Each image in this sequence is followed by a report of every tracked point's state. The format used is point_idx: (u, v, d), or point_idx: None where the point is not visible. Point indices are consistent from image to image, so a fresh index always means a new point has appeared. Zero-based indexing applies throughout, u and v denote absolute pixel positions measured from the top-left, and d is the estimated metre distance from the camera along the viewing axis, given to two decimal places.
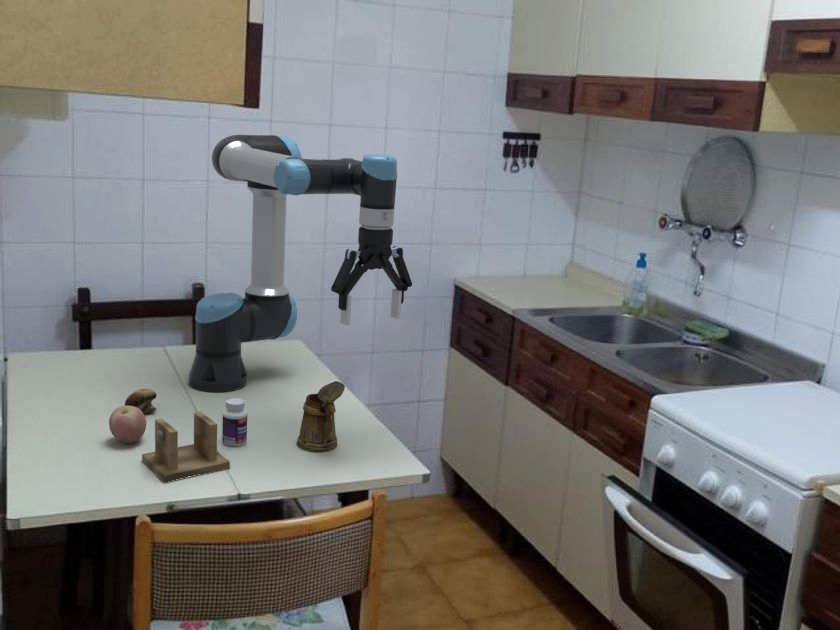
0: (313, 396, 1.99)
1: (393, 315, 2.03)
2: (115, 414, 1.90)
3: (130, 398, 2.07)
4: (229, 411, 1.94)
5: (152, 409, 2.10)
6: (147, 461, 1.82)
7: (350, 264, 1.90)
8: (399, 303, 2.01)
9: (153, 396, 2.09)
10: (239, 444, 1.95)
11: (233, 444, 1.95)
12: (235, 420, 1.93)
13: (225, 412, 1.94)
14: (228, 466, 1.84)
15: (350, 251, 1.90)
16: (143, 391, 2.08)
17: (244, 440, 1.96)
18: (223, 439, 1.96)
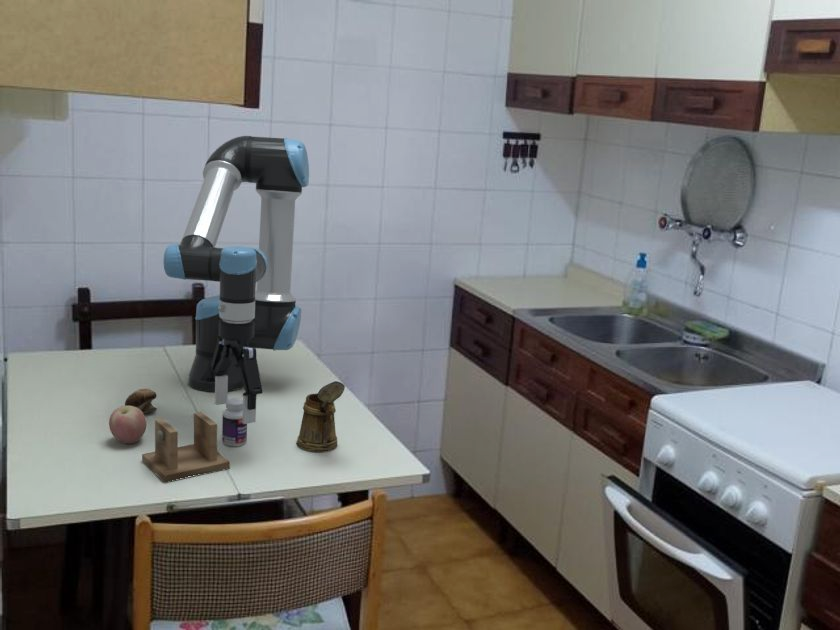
0: (313, 396, 1.99)
1: None
2: (115, 414, 1.90)
3: (130, 398, 2.07)
4: (229, 411, 1.94)
5: (152, 409, 2.10)
6: (147, 461, 1.82)
7: (216, 346, 1.97)
8: (243, 407, 1.89)
9: (153, 396, 2.09)
10: (239, 444, 1.95)
11: (233, 444, 1.95)
12: (235, 420, 1.93)
13: (225, 412, 1.94)
14: (228, 466, 1.84)
15: None
16: (143, 391, 2.08)
17: (244, 440, 1.96)
18: (223, 439, 1.96)
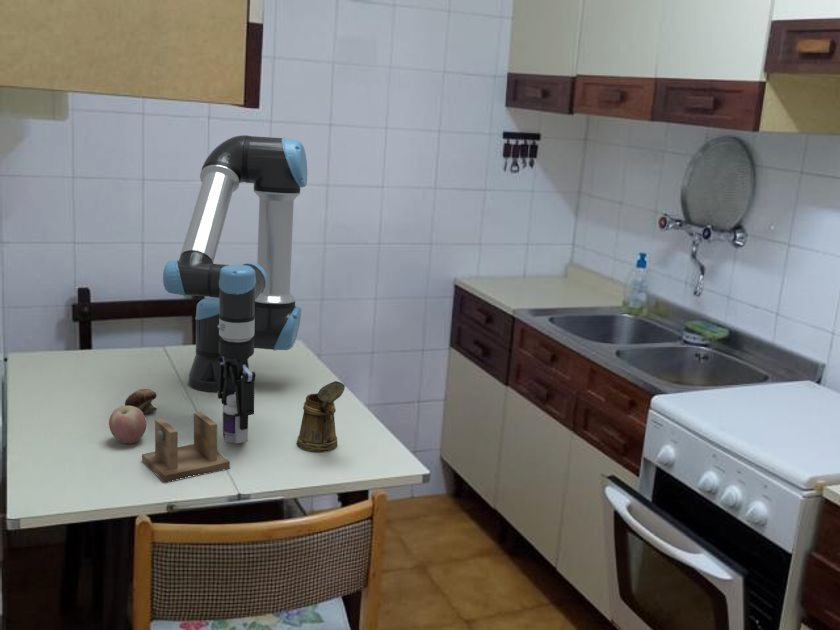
0: (313, 396, 1.99)
1: None
2: (115, 414, 1.90)
3: (130, 398, 2.07)
4: (230, 407, 1.94)
5: (152, 409, 2.10)
6: (147, 461, 1.82)
7: (219, 370, 1.98)
8: (235, 427, 1.94)
9: (153, 396, 2.09)
10: None
11: (233, 440, 1.95)
12: None
13: (226, 408, 1.94)
14: (228, 466, 1.84)
15: None
16: (143, 391, 2.08)
17: None
18: (224, 435, 1.96)
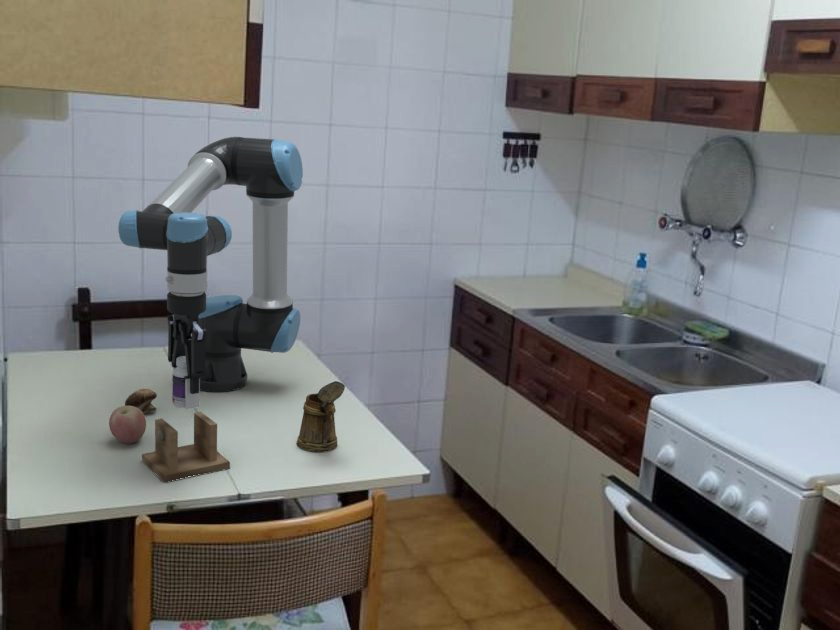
0: (313, 396, 1.99)
1: None
2: (115, 414, 1.90)
3: (130, 398, 2.07)
4: (179, 369, 1.78)
5: (152, 409, 2.10)
6: (147, 461, 1.82)
7: (169, 330, 1.81)
8: (185, 391, 1.77)
9: (153, 396, 2.09)
10: None
11: (183, 405, 1.78)
12: None
13: (175, 370, 1.78)
14: (228, 466, 1.84)
15: None
16: (143, 391, 2.08)
17: None
18: (173, 400, 1.79)
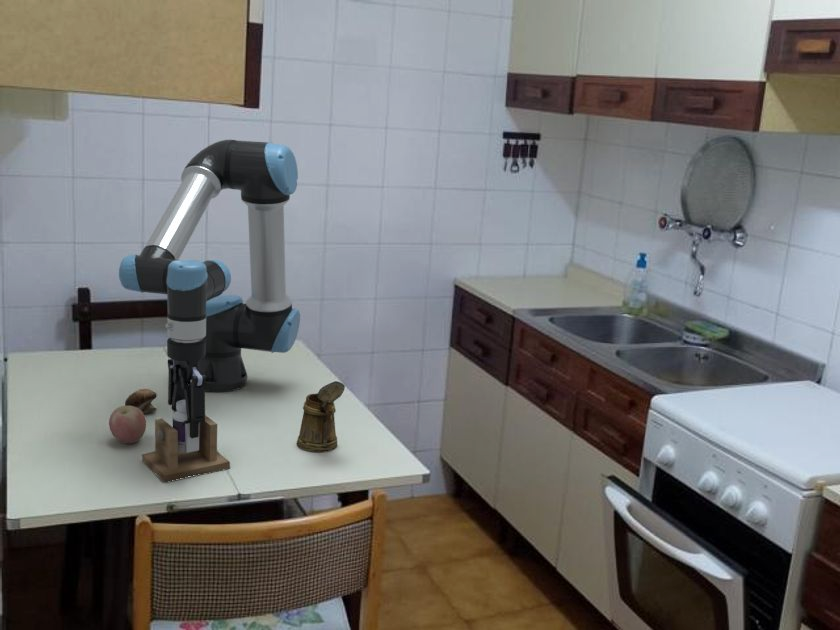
0: (313, 396, 1.99)
1: None
2: (115, 414, 1.90)
3: (130, 398, 2.07)
4: (179, 413, 1.80)
5: (152, 409, 2.10)
6: (147, 461, 1.82)
7: (169, 373, 1.84)
8: (185, 435, 1.79)
9: (153, 396, 2.09)
10: None
11: (183, 449, 1.81)
12: None
13: (175, 414, 1.80)
14: (228, 466, 1.84)
15: None
16: (143, 391, 2.08)
17: None
18: None
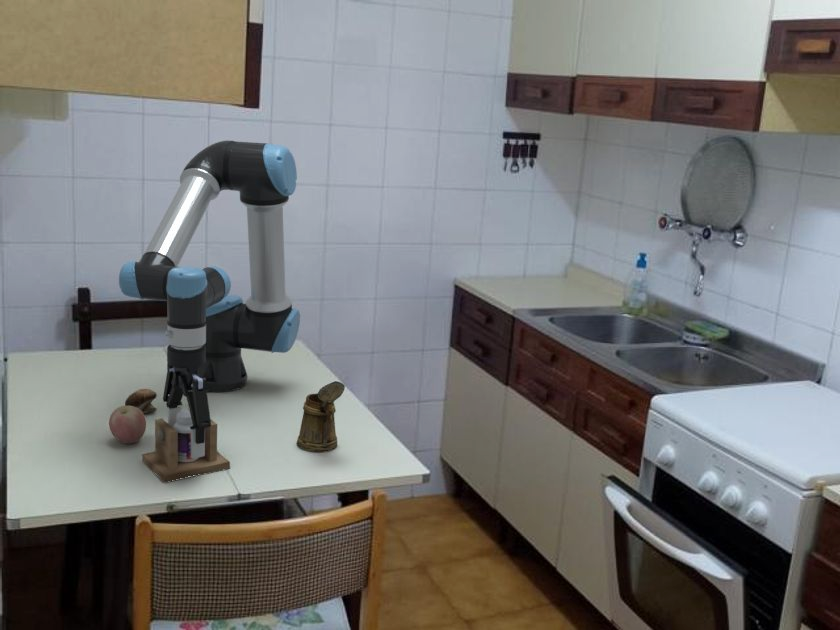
0: (313, 396, 1.99)
1: None
2: (115, 414, 1.90)
3: (130, 398, 2.07)
4: (180, 425, 1.81)
5: (152, 409, 2.10)
6: (147, 461, 1.82)
7: (167, 374, 1.84)
8: (191, 440, 1.77)
9: (153, 396, 2.09)
10: (191, 460, 1.82)
11: (184, 460, 1.81)
12: (186, 434, 1.80)
13: (175, 426, 1.81)
14: (228, 466, 1.84)
15: None
16: (143, 391, 2.08)
17: None
18: None
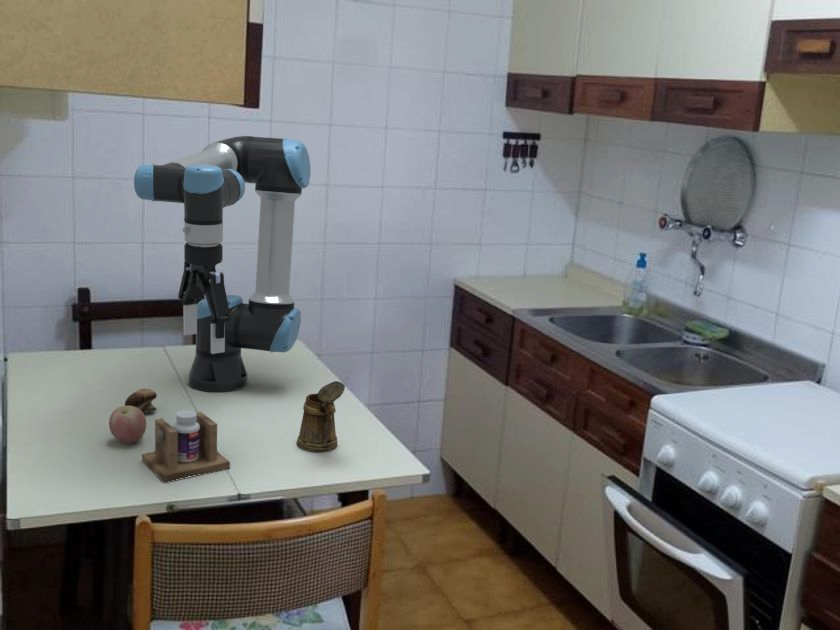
0: (313, 396, 1.99)
1: None
2: (115, 414, 1.90)
3: (130, 398, 2.07)
4: (180, 425, 1.81)
5: (152, 409, 2.10)
6: (147, 461, 1.82)
7: (184, 273, 1.86)
8: (211, 335, 1.78)
9: (153, 396, 2.09)
10: (191, 460, 1.82)
11: (184, 460, 1.81)
12: (186, 434, 1.80)
13: (175, 426, 1.81)
14: (228, 466, 1.84)
15: None
16: (143, 391, 2.08)
17: (196, 455, 1.83)
18: None
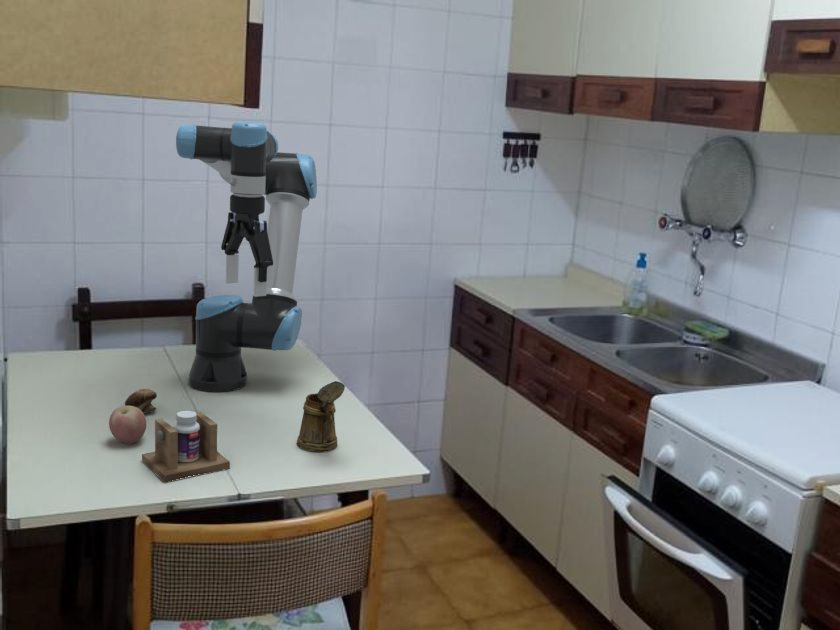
0: (313, 396, 1.99)
1: None
2: (115, 414, 1.90)
3: (130, 398, 2.07)
4: (180, 425, 1.81)
5: (152, 409, 2.10)
6: (147, 461, 1.82)
7: (227, 224, 2.00)
8: (254, 279, 1.92)
9: (153, 396, 2.09)
10: (191, 460, 1.82)
11: (184, 460, 1.81)
12: (186, 434, 1.80)
13: (175, 426, 1.81)
14: (228, 466, 1.84)
15: None
16: (143, 391, 2.08)
17: (196, 455, 1.83)
18: None
